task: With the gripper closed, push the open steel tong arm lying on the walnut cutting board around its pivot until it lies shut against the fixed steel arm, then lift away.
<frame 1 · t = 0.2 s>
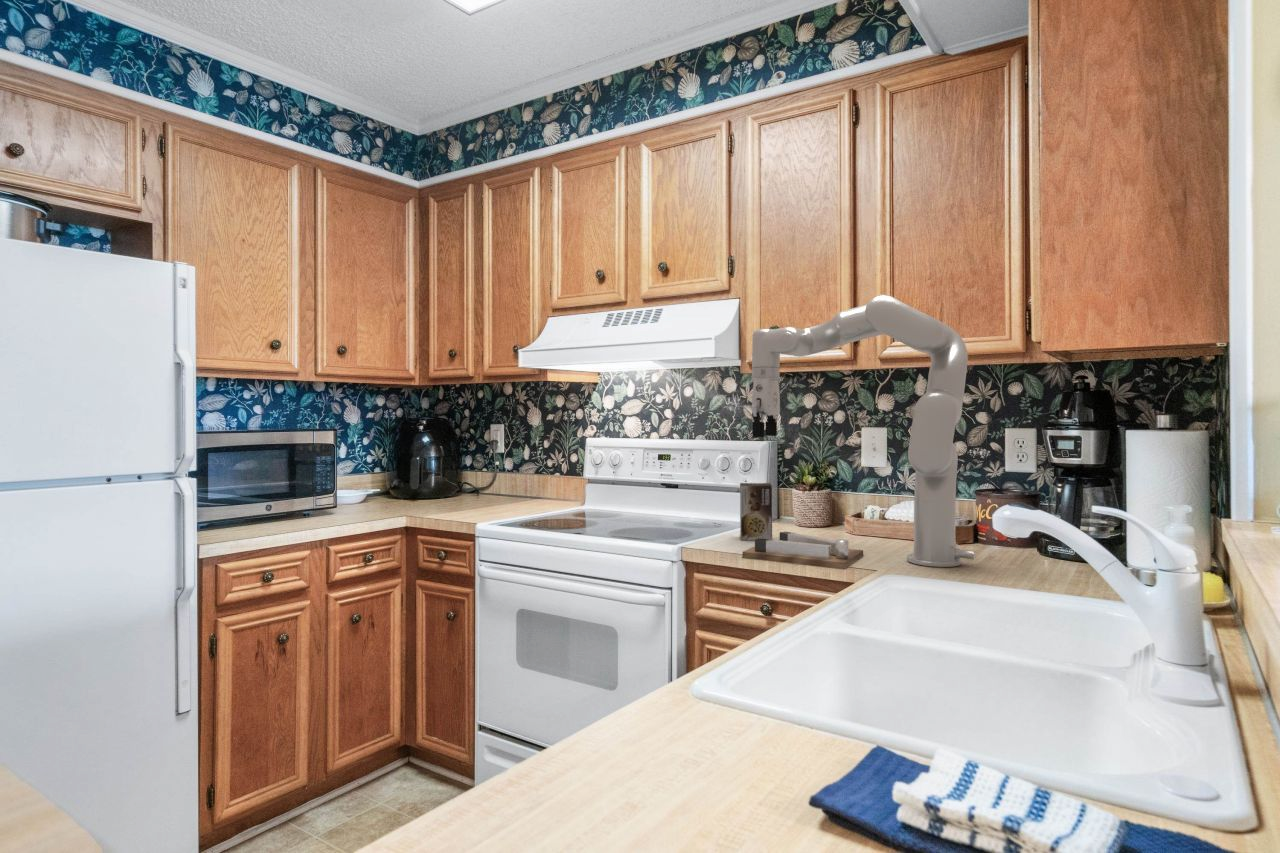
hand: (764, 436, 207), 30 cm above the counter, fingers open, 9 cm apart
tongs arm: (809, 542, 193), point 3 cm above the counter, hinge at -25.0°
cutting board: (803, 556, 191), on the counter
printed cardboard box: (755, 539, 217), on the counter
tongs fixed: (841, 564, 182), resting on cutting board
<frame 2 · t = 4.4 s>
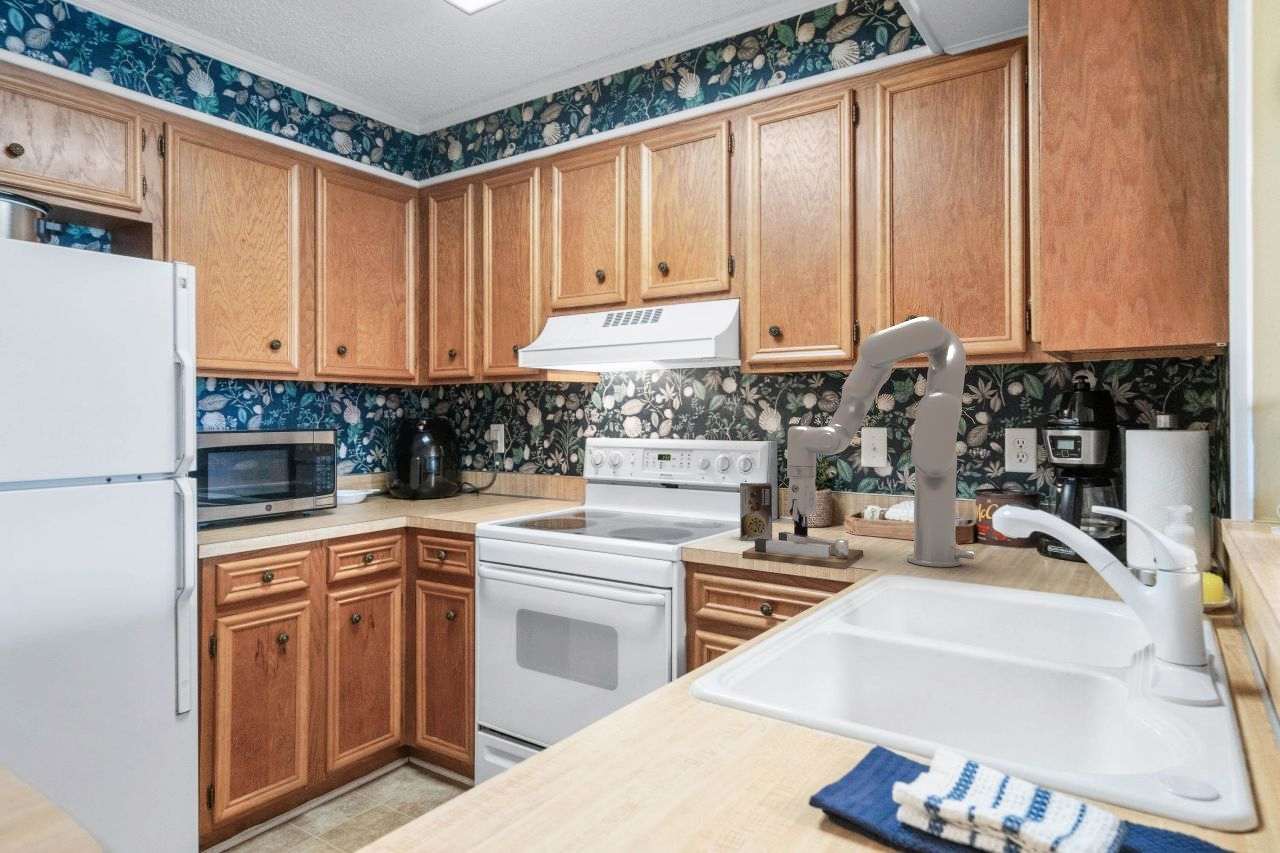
hand: (800, 540, 199), 3 cm above the counter, fingers closed
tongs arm: (808, 542, 193), point 3 cm above the counter, hinge at -24.0°, touching gripper
everything else where it was.
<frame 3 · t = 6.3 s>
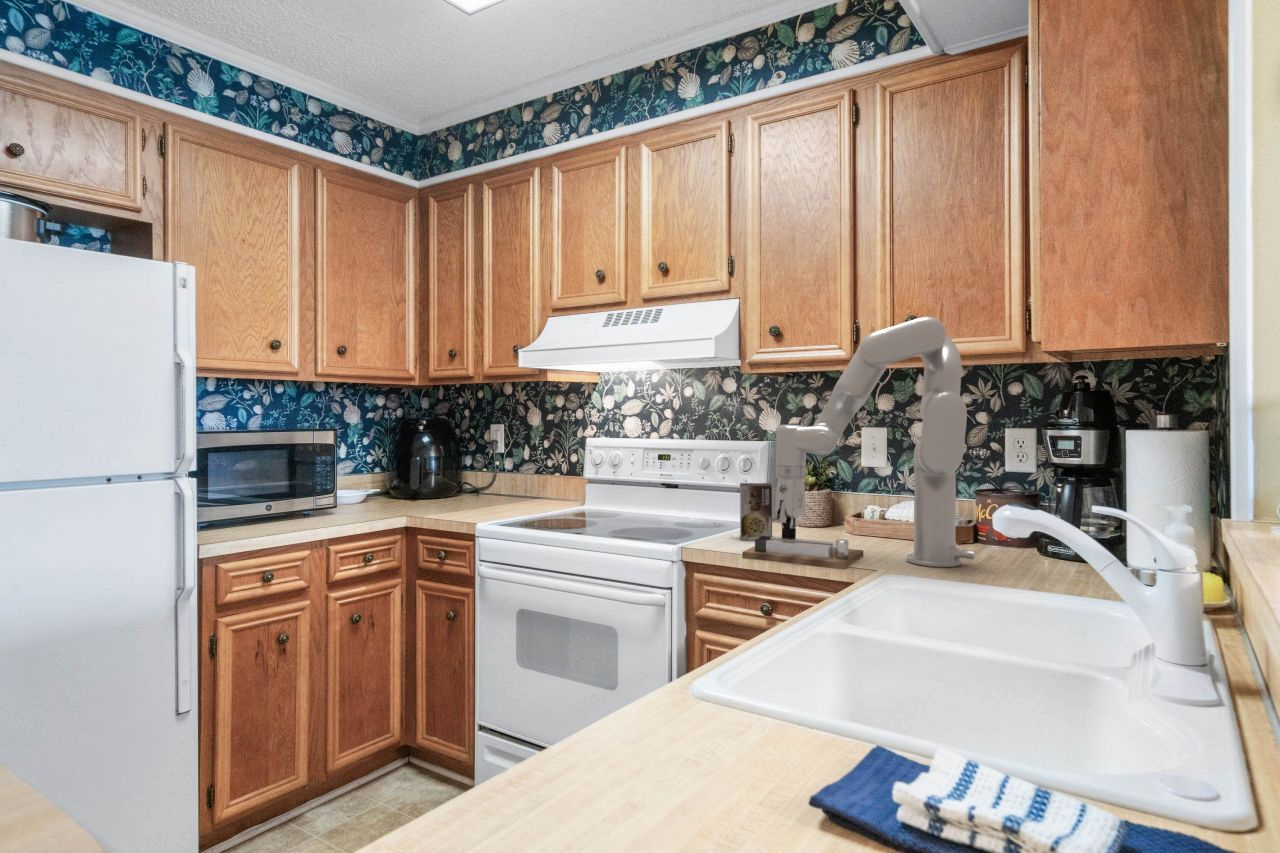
hand: (788, 542, 193), 3 cm above the counter, fingers closed
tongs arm: (796, 545, 189), point 3 cm above the counter, hinge at 1.0°, touching gripper
everything else where it was.
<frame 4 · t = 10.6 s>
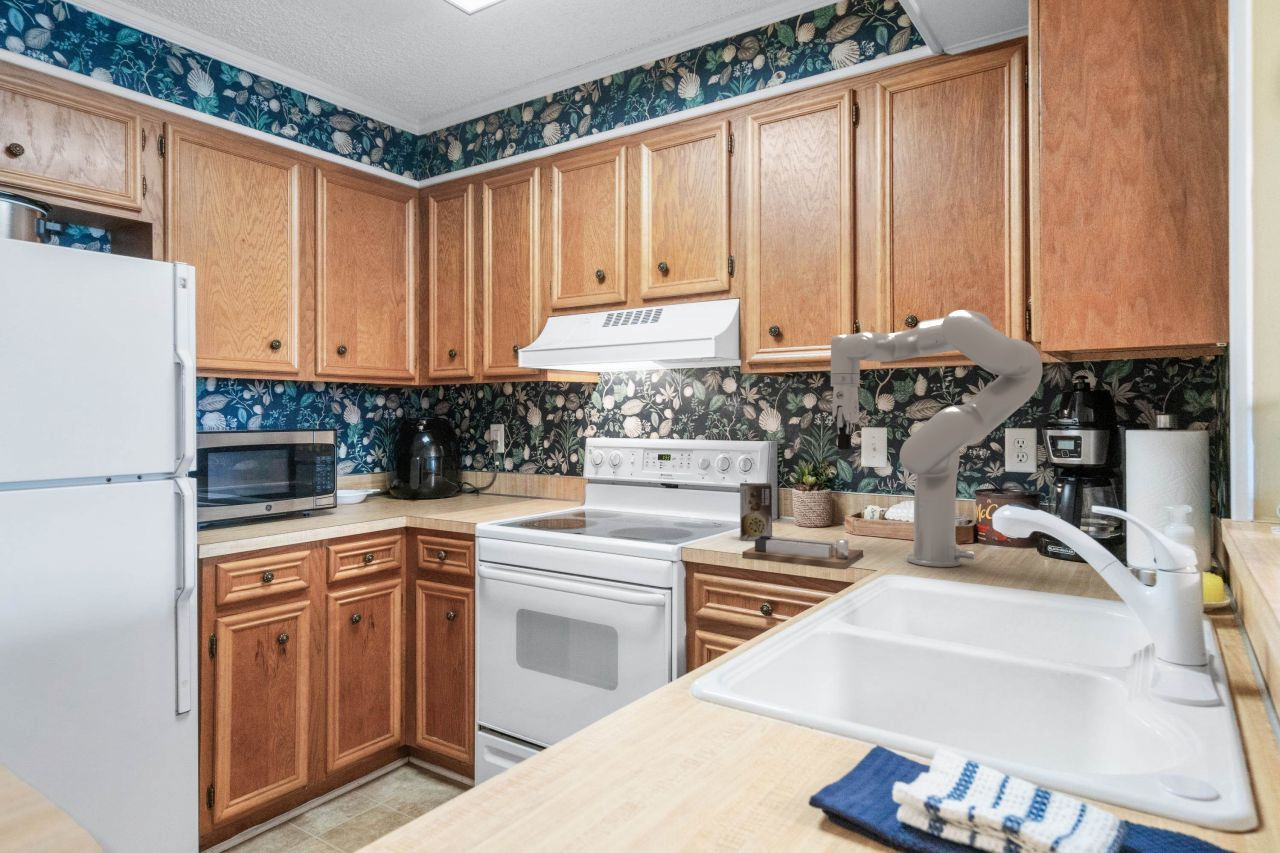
hand: (844, 448, 201), 27 cm above the counter, fingers closed
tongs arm: (796, 545, 190), point 3 cm above the counter, hinge at 0.6°
everything else where it was.
at the end: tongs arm at +1° (first picture: -25°); printed cardboard box moved 0.2 cm from its start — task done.
